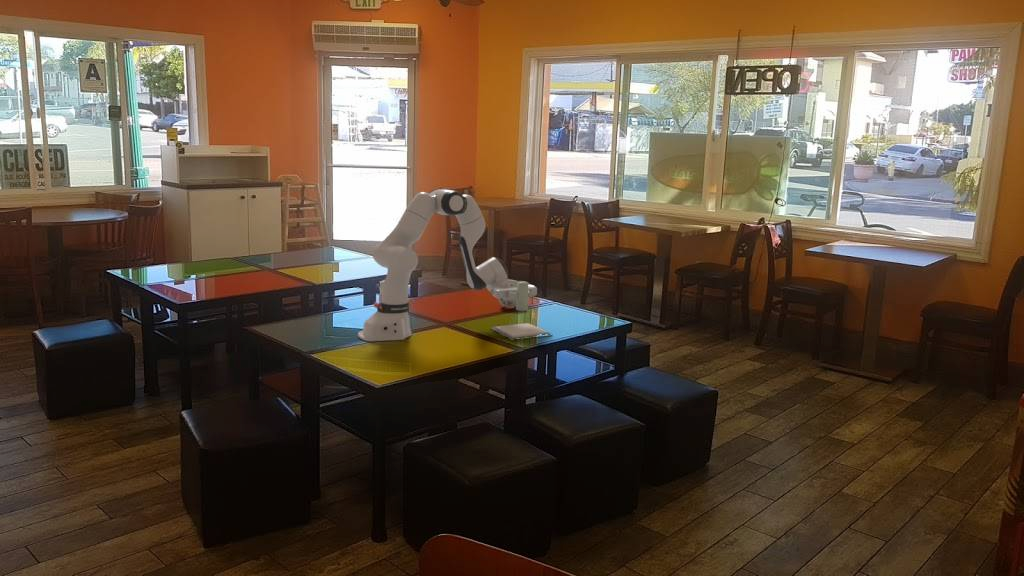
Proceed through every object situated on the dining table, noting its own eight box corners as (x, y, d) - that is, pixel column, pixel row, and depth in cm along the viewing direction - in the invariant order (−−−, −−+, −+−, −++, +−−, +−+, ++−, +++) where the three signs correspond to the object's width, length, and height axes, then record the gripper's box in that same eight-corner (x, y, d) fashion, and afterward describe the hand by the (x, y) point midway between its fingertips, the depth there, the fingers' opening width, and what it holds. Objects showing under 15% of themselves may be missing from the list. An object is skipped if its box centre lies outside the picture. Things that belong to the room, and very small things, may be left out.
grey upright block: (519, 311, 341) (520, 283, 338) (513, 308, 345) (514, 281, 343) (529, 310, 343) (530, 283, 341) (523, 307, 347) (524, 281, 345)
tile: (511, 340, 333) (511, 336, 332) (490, 329, 350) (490, 326, 350) (552, 335, 342) (552, 332, 342) (529, 325, 359) (529, 322, 359)
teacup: (513, 311, 386) (513, 295, 385) (491, 308, 393) (492, 292, 391) (528, 306, 399) (529, 290, 397) (507, 303, 405) (508, 287, 404)
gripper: (487, 283, 348) (502, 289, 336) (527, 280, 358) (543, 286, 346) (487, 297, 350) (501, 304, 338) (527, 294, 359) (542, 300, 347)
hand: (523, 295), depth 342 cm, fingers closed on grey upright block, 5 cm apart
